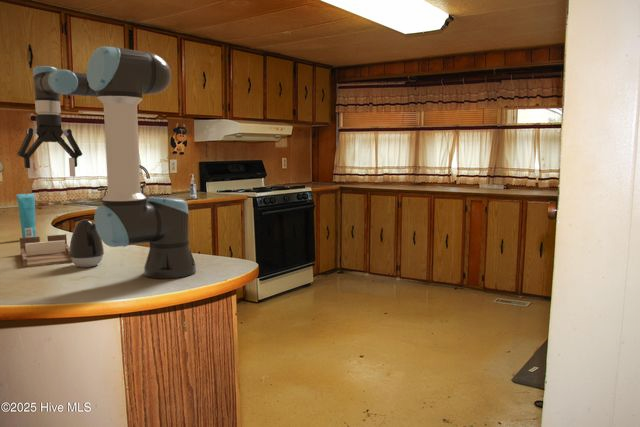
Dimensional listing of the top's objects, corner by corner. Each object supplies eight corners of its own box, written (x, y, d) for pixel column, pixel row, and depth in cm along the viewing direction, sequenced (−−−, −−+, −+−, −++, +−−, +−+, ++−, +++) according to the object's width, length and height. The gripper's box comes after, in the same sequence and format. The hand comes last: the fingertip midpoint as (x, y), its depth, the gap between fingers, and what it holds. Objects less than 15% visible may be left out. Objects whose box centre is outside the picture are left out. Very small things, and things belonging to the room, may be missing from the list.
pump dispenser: (92, 270, 164) (89, 222, 162) (63, 268, 166) (60, 221, 164) (111, 263, 174) (109, 217, 172) (83, 261, 176) (81, 216, 174)
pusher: (65, 251, 187) (65, 240, 187) (26, 255, 181) (25, 244, 180) (63, 248, 194) (62, 237, 194) (24, 251, 188) (24, 240, 187)
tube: (33, 237, 222) (30, 192, 220) (41, 238, 220) (38, 193, 218) (16, 240, 216) (13, 194, 213) (24, 241, 214) (20, 194, 211)
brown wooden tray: (75, 262, 176) (74, 244, 175) (24, 267, 168) (22, 248, 167) (66, 250, 196) (66, 234, 195) (20, 254, 188) (19, 237, 187)
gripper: (80, 116, 188) (83, 175, 191) (3, 112, 169) (8, 178, 172) (90, 115, 183) (93, 176, 186) (11, 111, 165) (16, 179, 167)
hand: (52, 177), depth 179 cm, fingers open, 13 cm apart
